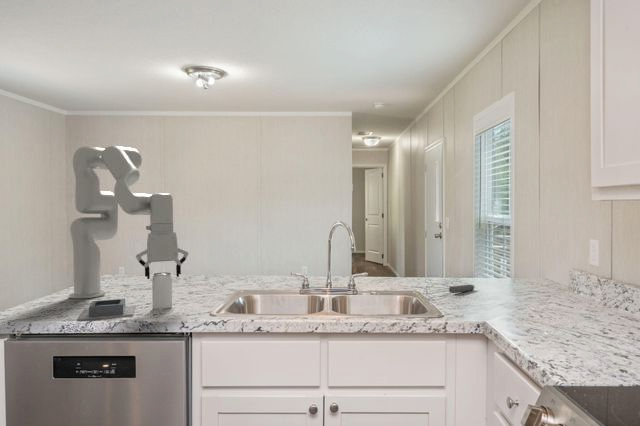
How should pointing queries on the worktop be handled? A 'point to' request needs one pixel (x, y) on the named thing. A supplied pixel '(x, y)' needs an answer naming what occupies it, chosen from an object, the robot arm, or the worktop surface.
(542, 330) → the worktop surface
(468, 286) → the kitchen whisk
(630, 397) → the worktop surface
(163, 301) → the can
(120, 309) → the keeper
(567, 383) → the worktop surface
